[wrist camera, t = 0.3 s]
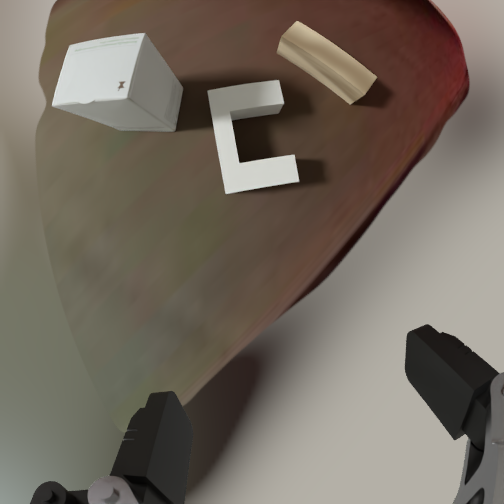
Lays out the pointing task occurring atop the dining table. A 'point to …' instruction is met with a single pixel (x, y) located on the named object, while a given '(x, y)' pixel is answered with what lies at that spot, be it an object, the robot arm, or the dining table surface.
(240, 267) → the dining table surface
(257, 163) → the end cap
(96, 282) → the dining table surface
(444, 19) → the dining table surface
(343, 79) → the beige wooden block
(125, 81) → the skincare box
